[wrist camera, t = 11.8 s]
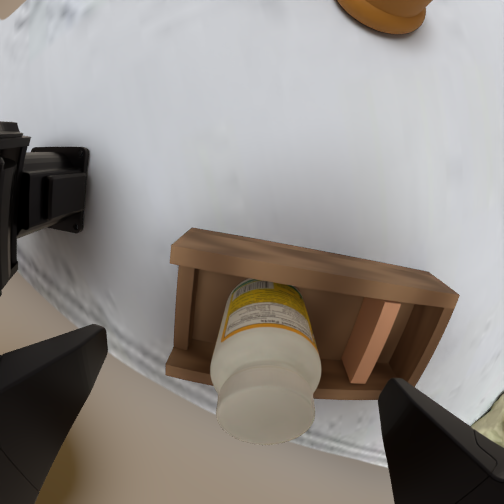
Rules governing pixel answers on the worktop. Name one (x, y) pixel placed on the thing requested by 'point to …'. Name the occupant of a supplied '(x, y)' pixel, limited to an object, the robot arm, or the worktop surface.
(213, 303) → the pusher lane
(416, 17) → the ornamental finial
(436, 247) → the worktop surface
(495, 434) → the wavy plaster lump
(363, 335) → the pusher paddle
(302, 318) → the supplement bottle
